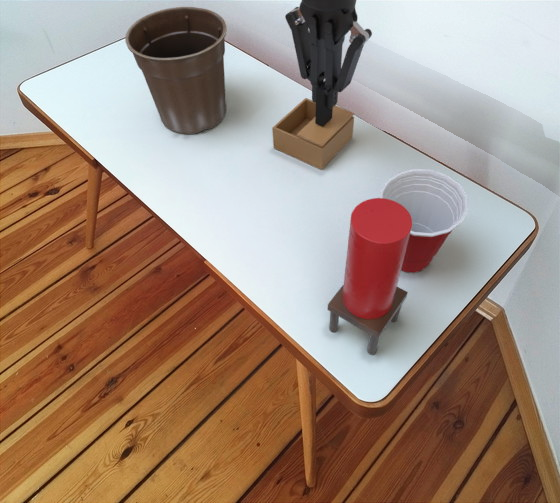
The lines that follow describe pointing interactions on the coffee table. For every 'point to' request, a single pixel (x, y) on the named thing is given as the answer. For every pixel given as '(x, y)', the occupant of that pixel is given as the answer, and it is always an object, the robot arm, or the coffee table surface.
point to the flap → (325, 127)
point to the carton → (302, 148)
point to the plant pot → (182, 65)
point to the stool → (367, 325)
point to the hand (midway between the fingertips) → (323, 120)
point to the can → (375, 256)
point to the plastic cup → (426, 211)
